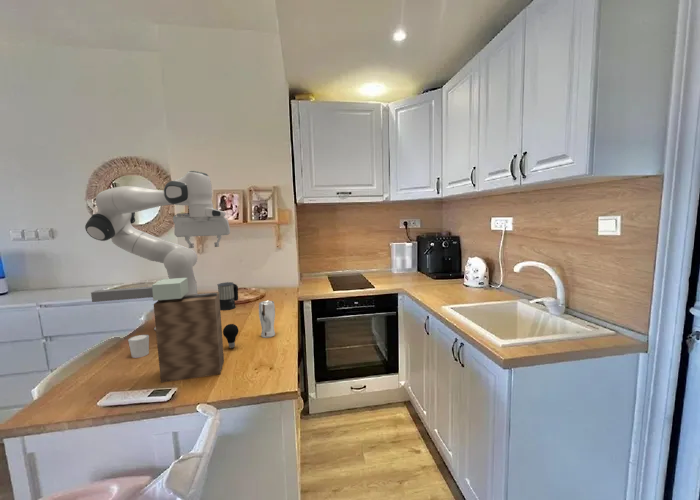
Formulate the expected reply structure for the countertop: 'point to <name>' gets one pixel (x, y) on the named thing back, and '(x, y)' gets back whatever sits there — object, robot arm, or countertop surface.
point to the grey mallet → (146, 291)
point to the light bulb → (230, 334)
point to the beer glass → (267, 318)
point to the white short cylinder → (139, 345)
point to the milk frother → (227, 295)
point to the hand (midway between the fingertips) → (204, 247)
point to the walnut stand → (189, 336)
